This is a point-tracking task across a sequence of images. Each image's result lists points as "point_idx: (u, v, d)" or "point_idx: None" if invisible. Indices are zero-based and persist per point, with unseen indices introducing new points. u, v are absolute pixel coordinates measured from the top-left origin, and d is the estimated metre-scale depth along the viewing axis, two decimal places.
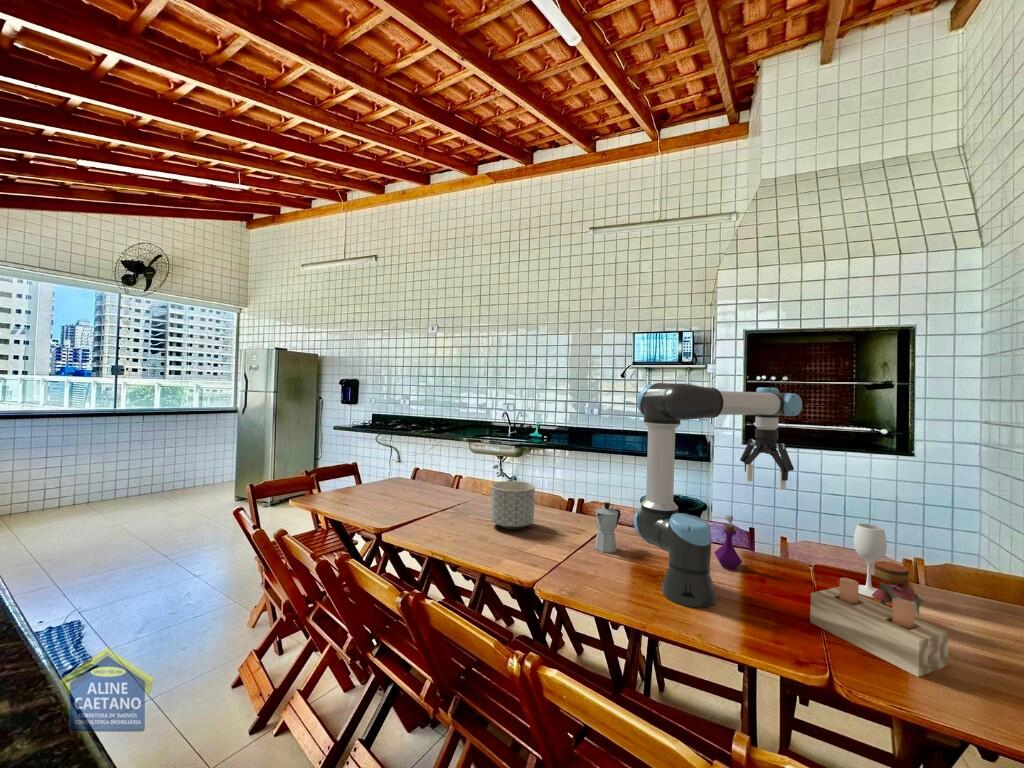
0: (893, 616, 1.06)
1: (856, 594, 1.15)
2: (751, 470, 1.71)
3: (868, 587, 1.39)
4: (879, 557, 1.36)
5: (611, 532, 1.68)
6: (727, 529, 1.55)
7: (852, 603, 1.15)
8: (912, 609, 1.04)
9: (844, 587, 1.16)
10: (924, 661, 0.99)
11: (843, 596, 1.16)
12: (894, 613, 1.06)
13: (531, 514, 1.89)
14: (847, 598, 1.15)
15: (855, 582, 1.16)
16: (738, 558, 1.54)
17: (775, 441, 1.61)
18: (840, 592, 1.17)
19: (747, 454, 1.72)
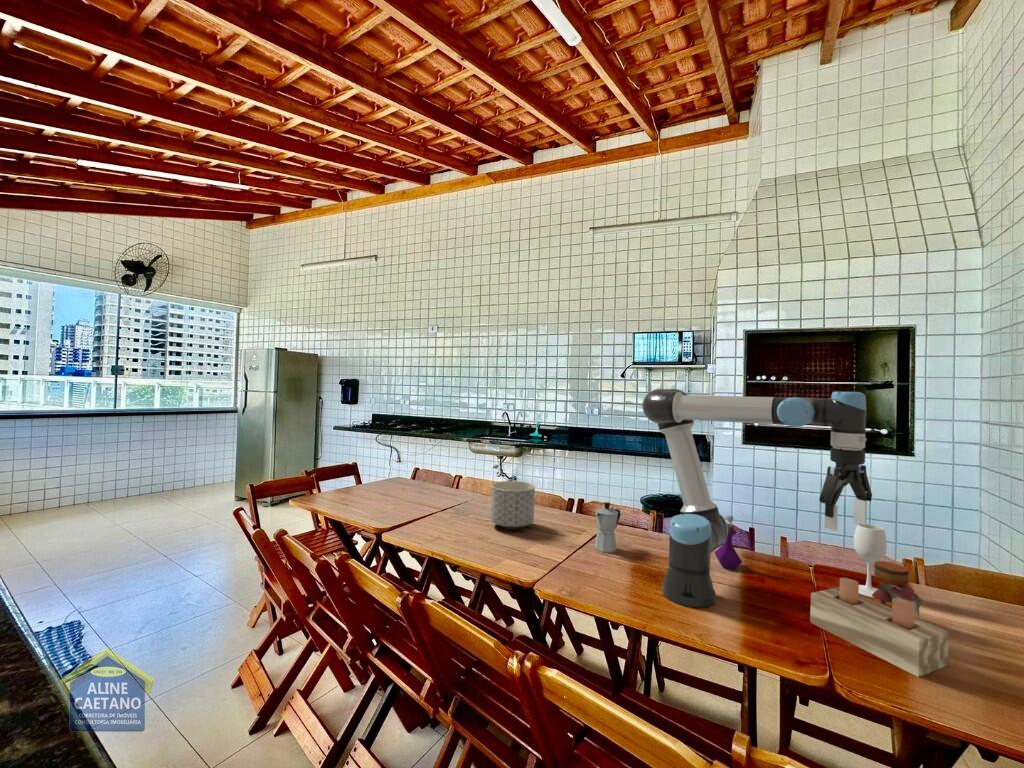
0: (893, 616, 1.06)
1: (856, 594, 1.15)
2: (862, 509, 1.21)
3: (868, 587, 1.39)
4: (879, 557, 1.36)
5: (611, 532, 1.68)
6: None
7: (852, 603, 1.15)
8: (912, 609, 1.04)
9: (844, 587, 1.16)
10: (924, 661, 0.99)
11: (843, 596, 1.16)
12: (894, 613, 1.06)
13: (531, 514, 1.89)
14: (847, 598, 1.15)
15: (855, 582, 1.16)
16: (738, 558, 1.54)
17: (838, 465, 1.18)
18: (840, 592, 1.17)
19: None
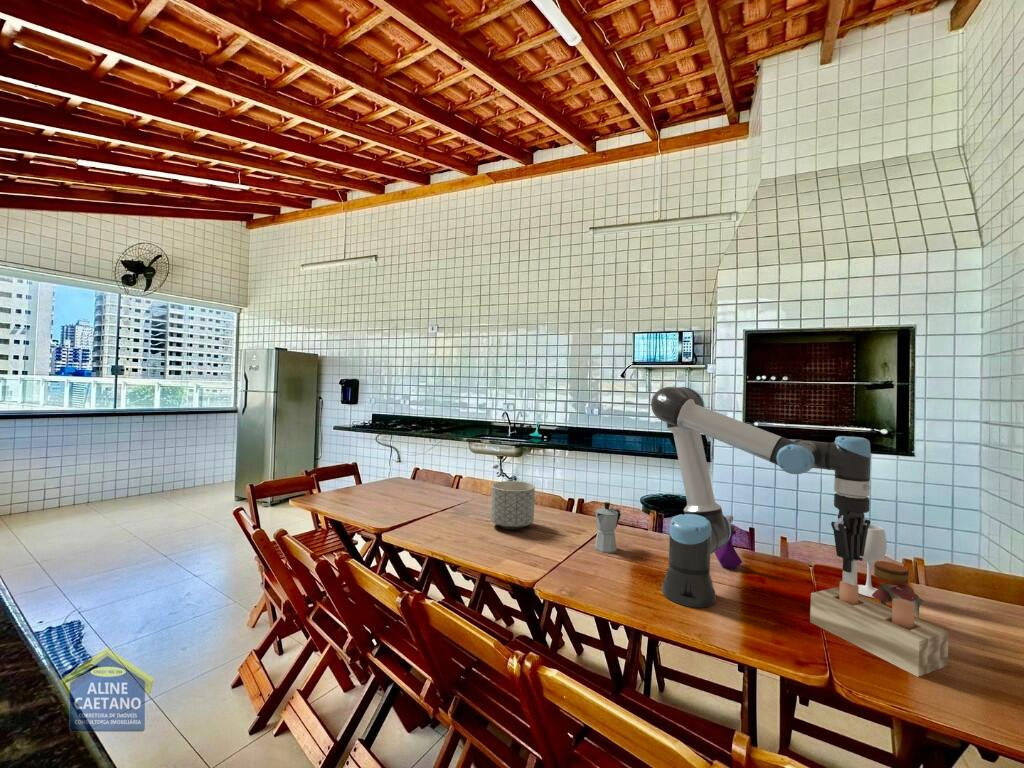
0: (893, 616, 1.06)
1: (856, 597, 1.15)
2: None
3: (868, 587, 1.39)
4: (879, 557, 1.36)
5: (611, 532, 1.68)
6: None
7: None
8: (912, 609, 1.04)
9: (844, 590, 1.16)
10: (924, 661, 0.99)
11: (843, 599, 1.16)
12: (894, 613, 1.06)
13: (531, 514, 1.89)
14: (847, 601, 1.15)
15: None
16: (738, 558, 1.54)
17: (842, 512, 1.16)
18: (840, 595, 1.17)
19: None
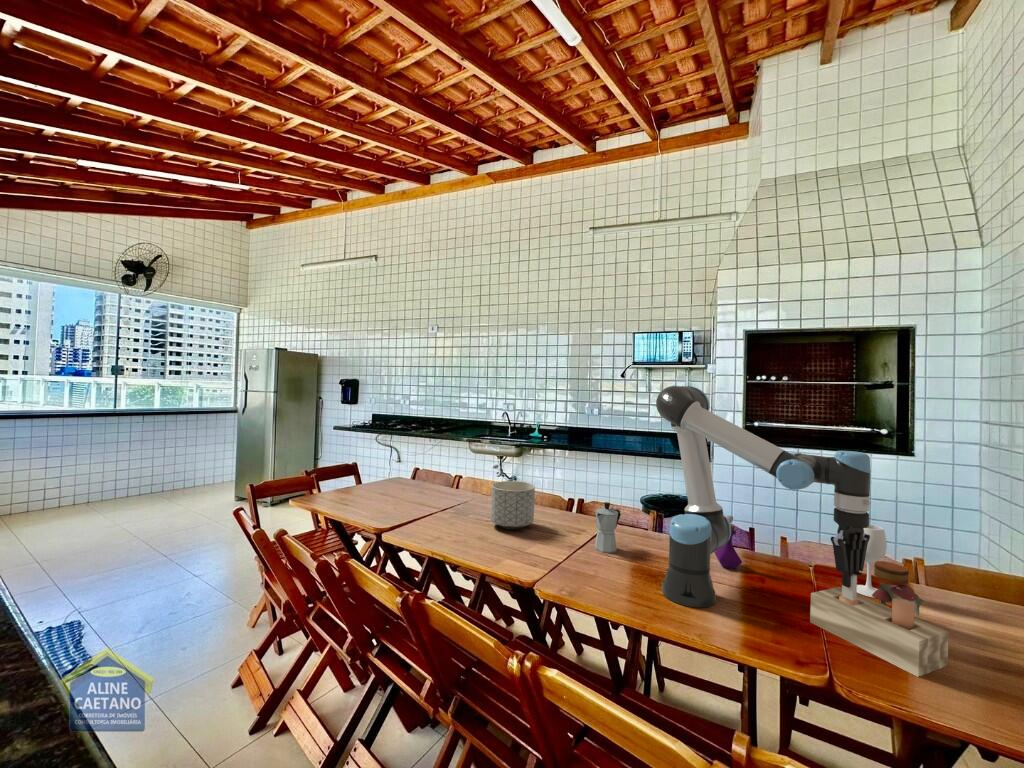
0: (893, 616, 1.06)
1: None
2: None
3: (868, 587, 1.39)
4: (879, 557, 1.36)
5: (611, 532, 1.68)
6: None
7: None
8: (912, 609, 1.04)
9: None
10: (924, 661, 0.99)
11: None
12: (894, 613, 1.06)
13: (531, 514, 1.89)
14: None
15: None
16: (738, 558, 1.54)
17: (841, 527, 1.16)
18: None
19: None
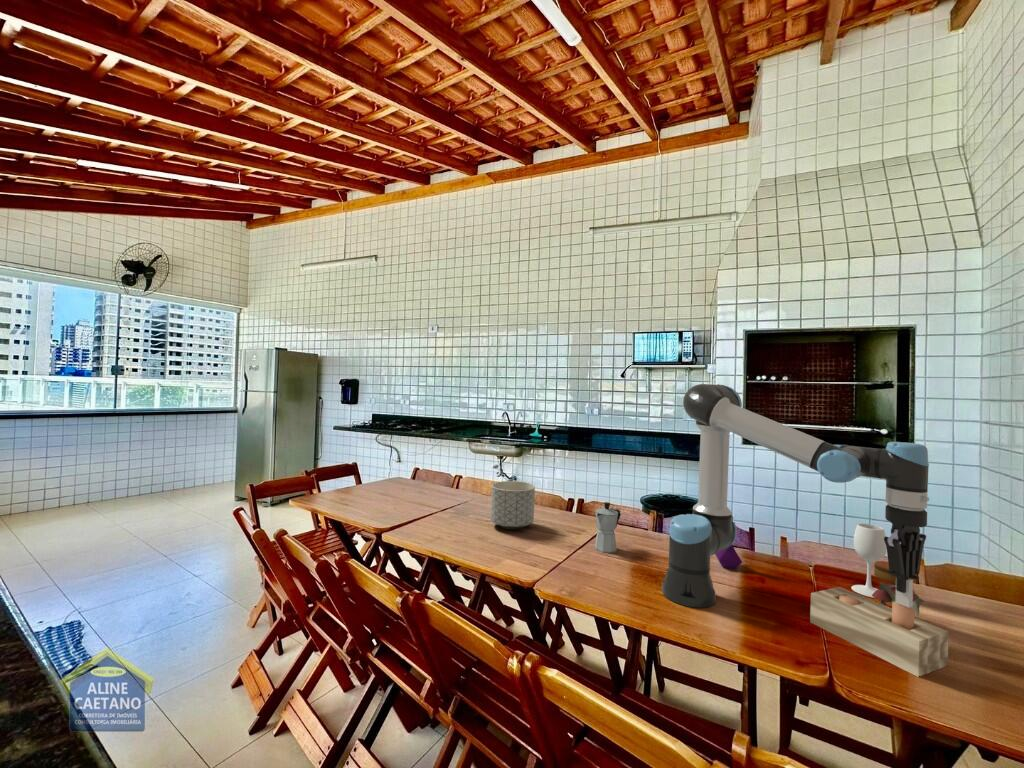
0: (893, 619, 1.06)
1: None
2: None
3: (868, 587, 1.39)
4: (879, 557, 1.36)
5: (611, 532, 1.68)
6: None
7: None
8: (912, 612, 1.04)
9: None
10: (924, 661, 0.99)
11: None
12: (894, 616, 1.06)
13: (531, 514, 1.89)
14: None
15: (854, 600, 1.16)
16: (738, 558, 1.54)
17: (896, 526, 1.05)
18: None
19: None
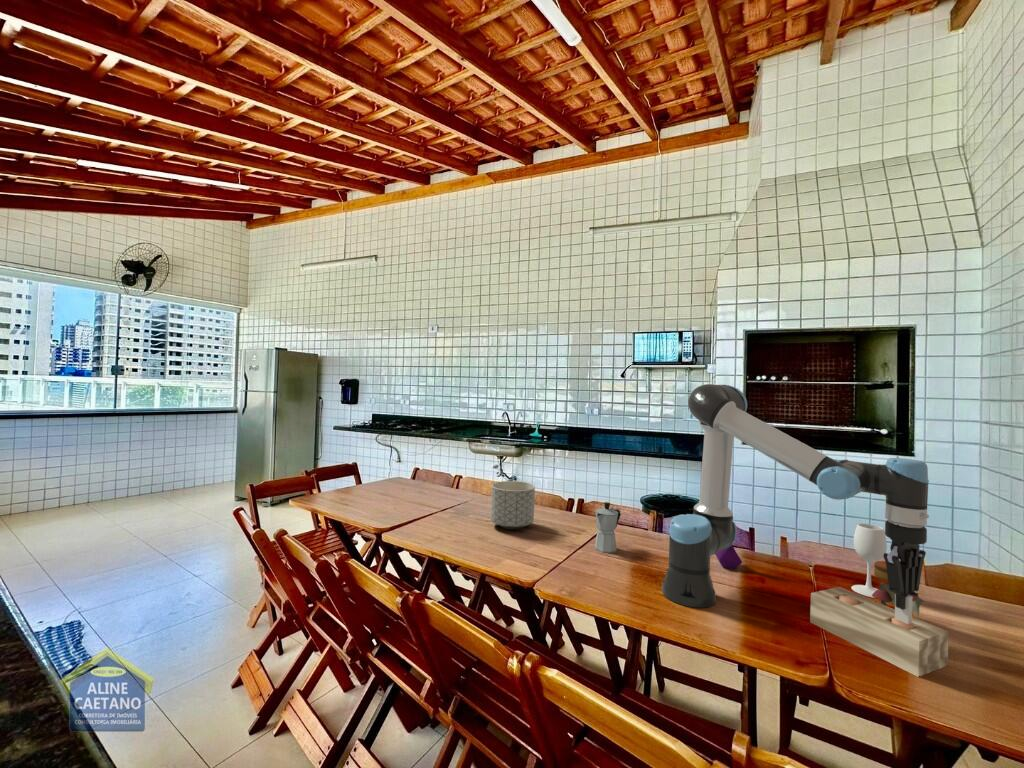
0: None
1: None
2: None
3: (868, 587, 1.39)
4: (879, 557, 1.36)
5: (611, 532, 1.68)
6: None
7: None
8: (911, 629, 1.04)
9: None
10: (924, 661, 0.99)
11: None
12: None
13: (531, 514, 1.89)
14: None
15: (854, 600, 1.16)
16: (738, 558, 1.54)
17: (895, 543, 1.05)
18: None
19: None
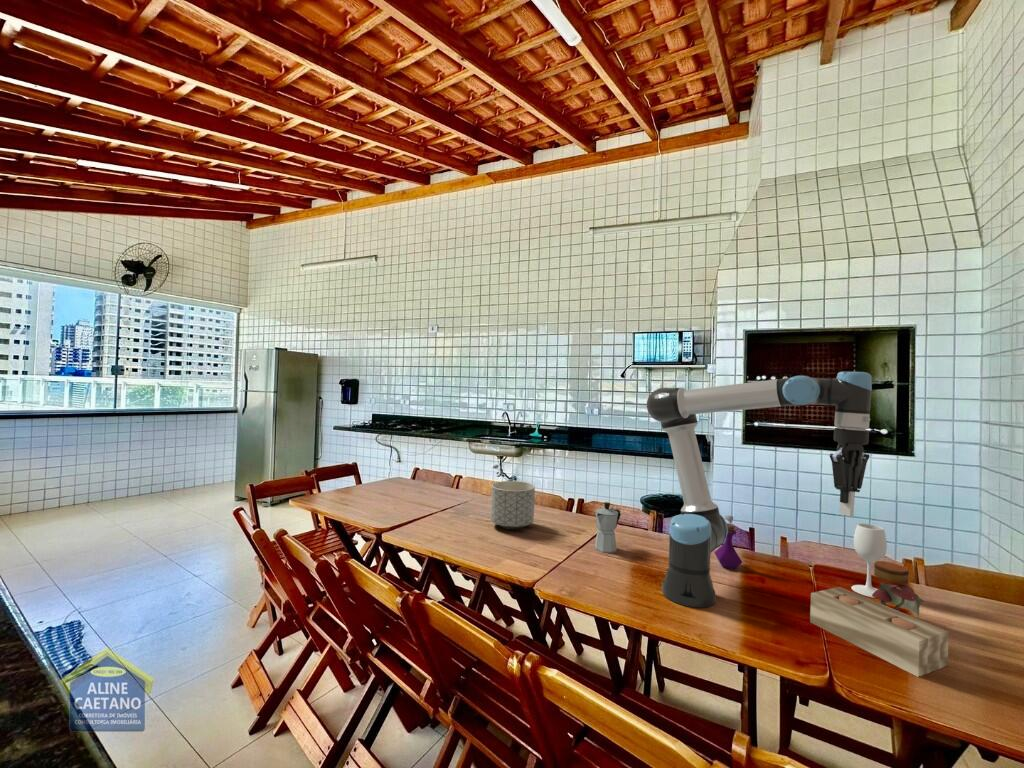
0: None
1: None
2: None
3: (868, 587, 1.39)
4: (879, 557, 1.36)
5: (611, 532, 1.68)
6: None
7: None
8: (911, 629, 1.04)
9: None
10: (924, 661, 0.99)
11: None
12: None
13: (531, 514, 1.89)
14: None
15: (854, 600, 1.16)
16: (738, 558, 1.54)
17: (841, 444, 1.18)
18: None
19: None
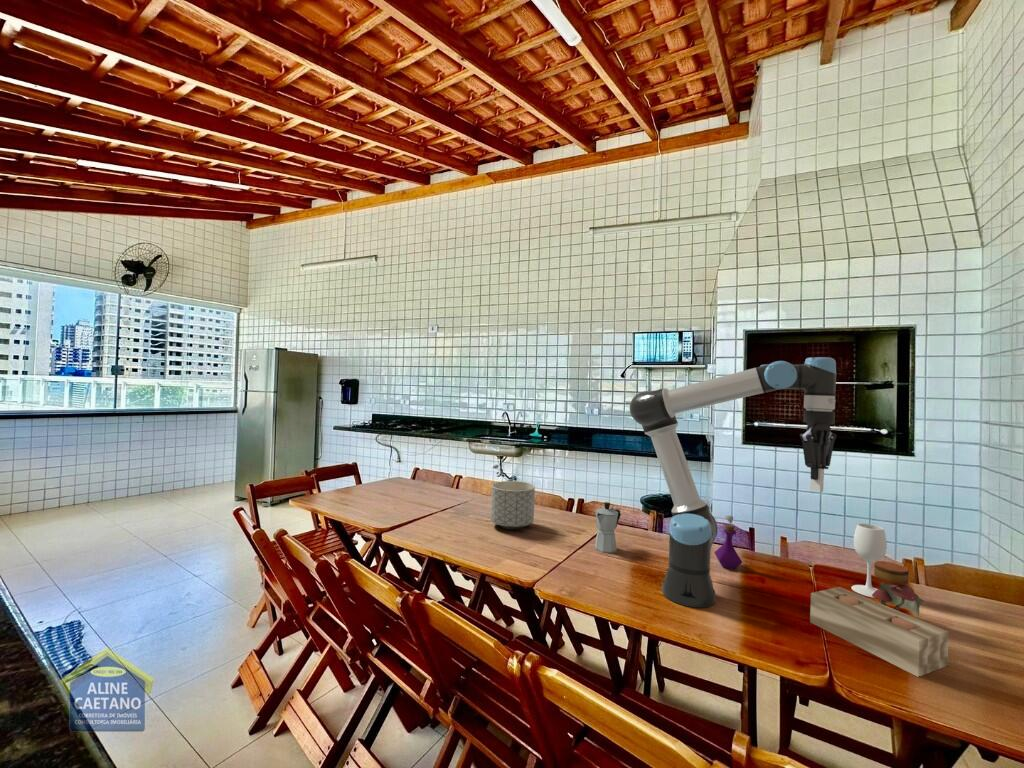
0: None
1: None
2: None
3: (868, 587, 1.39)
4: (879, 557, 1.36)
5: (611, 532, 1.68)
6: (727, 529, 1.55)
7: None
8: (911, 629, 1.04)
9: None
10: (924, 661, 0.99)
11: None
12: None
13: (531, 514, 1.89)
14: None
15: (854, 600, 1.16)
16: (738, 558, 1.54)
17: (809, 425, 1.27)
18: None
19: None
